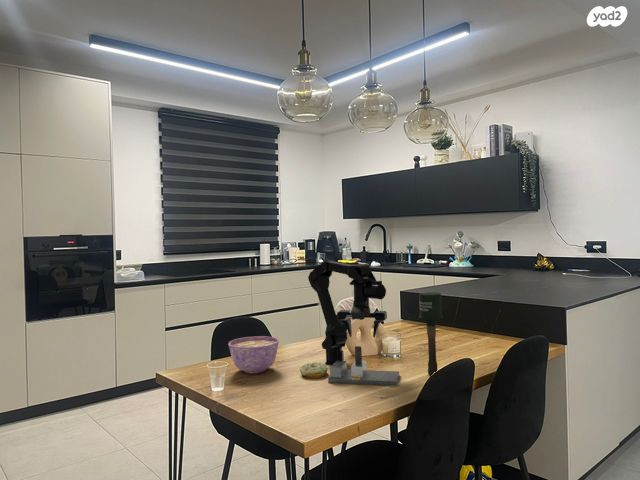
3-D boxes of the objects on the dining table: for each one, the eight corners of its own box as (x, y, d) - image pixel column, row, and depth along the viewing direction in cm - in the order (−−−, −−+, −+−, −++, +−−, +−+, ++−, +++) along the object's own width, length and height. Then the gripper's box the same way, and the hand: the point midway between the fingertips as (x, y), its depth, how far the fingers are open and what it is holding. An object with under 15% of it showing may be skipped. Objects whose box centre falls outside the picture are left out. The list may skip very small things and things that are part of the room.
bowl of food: (219, 376, 183) (218, 346, 183) (245, 362, 201) (244, 335, 201) (266, 379, 176) (264, 348, 176) (288, 365, 195) (287, 337, 194)
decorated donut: (300, 380, 174) (299, 370, 174) (299, 371, 185) (299, 362, 185) (328, 378, 175) (328, 368, 175) (326, 370, 186) (325, 360, 186)
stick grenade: (418, 372, 177) (415, 292, 177) (440, 371, 178) (437, 291, 178) (425, 379, 169) (421, 295, 168) (448, 377, 169) (445, 294, 169)
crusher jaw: (351, 377, 169) (350, 349, 169) (355, 371, 177) (354, 344, 177) (362, 378, 168) (361, 349, 168) (366, 371, 176) (365, 344, 176)
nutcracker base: (328, 382, 169) (327, 368, 169) (336, 372, 181) (335, 359, 181) (395, 385, 163) (395, 371, 163) (399, 375, 174) (398, 361, 174)
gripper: (332, 299, 177) (333, 341, 178) (381, 300, 172) (382, 343, 172) (339, 295, 188) (341, 334, 188) (386, 296, 183) (387, 336, 183)
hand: (362, 337), depth 183 cm, fingers open, 9 cm apart
